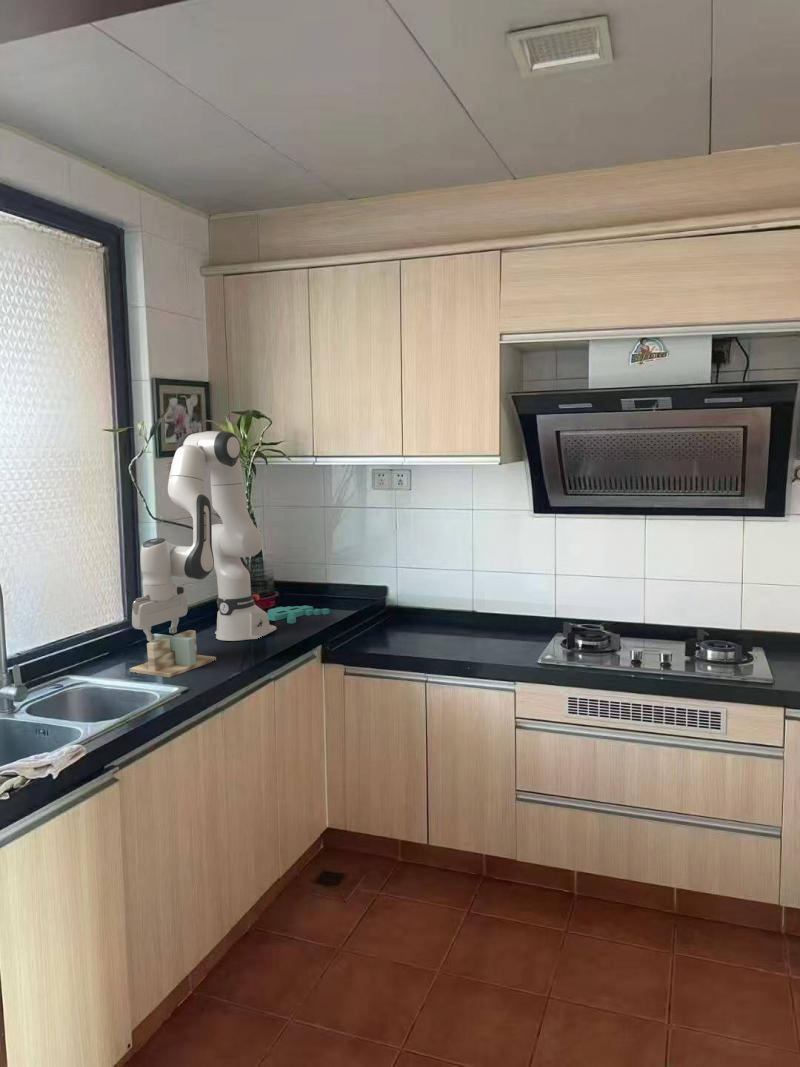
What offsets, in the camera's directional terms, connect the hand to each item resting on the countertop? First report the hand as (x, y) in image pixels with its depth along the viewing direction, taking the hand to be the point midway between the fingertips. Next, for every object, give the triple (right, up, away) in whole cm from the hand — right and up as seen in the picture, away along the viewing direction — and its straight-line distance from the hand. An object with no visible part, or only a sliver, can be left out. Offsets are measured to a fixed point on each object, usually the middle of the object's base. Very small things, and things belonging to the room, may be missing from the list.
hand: (162, 636), depth 257 cm
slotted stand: (+4, -9, -2) cm, 10 cm away
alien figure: (+32, -1, +65) cm, 72 cm away
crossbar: (+4, -8, -2) cm, 9 cm away
